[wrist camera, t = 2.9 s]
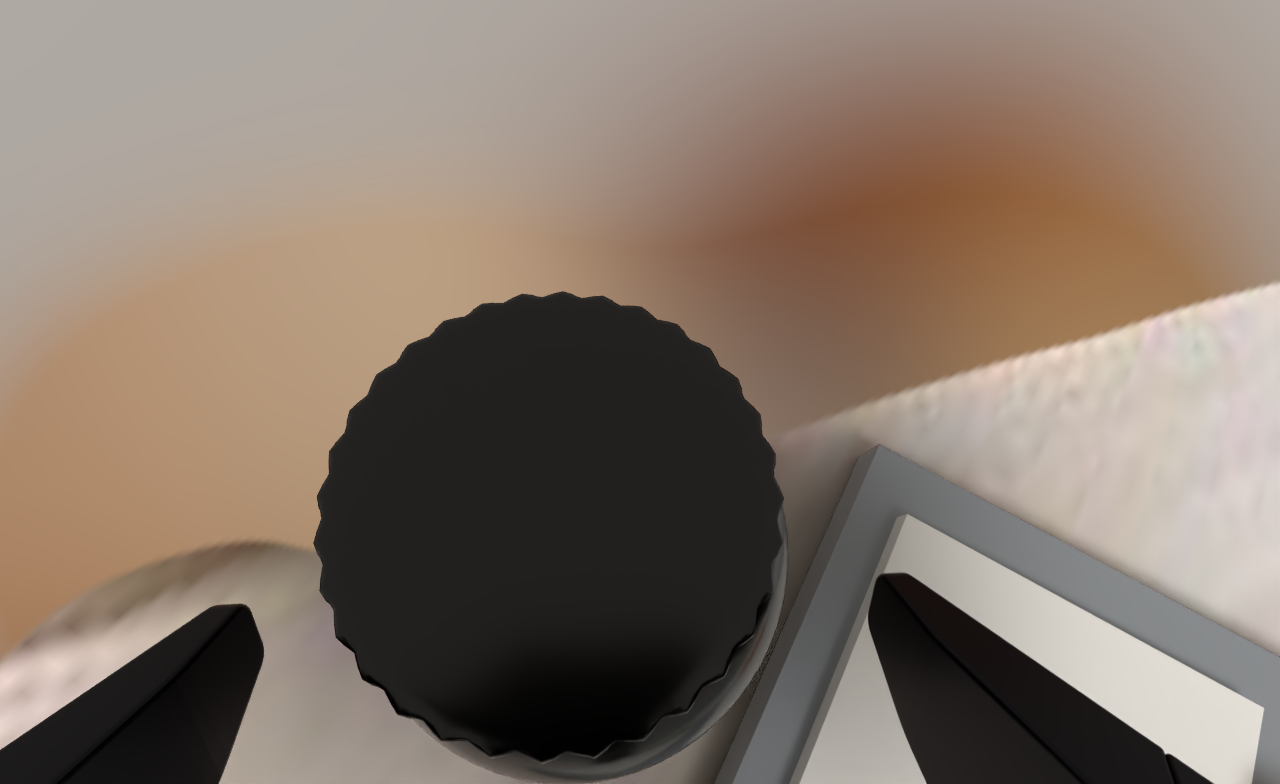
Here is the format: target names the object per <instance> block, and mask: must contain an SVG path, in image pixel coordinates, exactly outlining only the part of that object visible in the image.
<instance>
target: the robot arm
mask: <svg viewBox="0 0 1280 784" xmlns="http://www.w3.org/2000/svg"><path fill="white" fill-rule="evenodd" d="M868 626H869V630H870V633H871V636H872V639H873V642H874V645H875V648H876V651H877V654H878V657H879V660H880V663H881V666H882V669H883V672H884V675H885V678H886V681H887V684H888V687H889V691H890V694H891V697H892V700H893V703H894V706H895V709H896V712H897V715H898V717H899V720H900V723H901V726H902V728H903V731H904V734H905V736H906V738H907V741H908V743H909V745H910V748H911V750H912V752H913V755H914V757H915V759H916V761H917V764H918V766H919V768H920V770H921V772H922V775H923V777H924V779H925V781H926V784H1214V783H1213V782H1211V781H1210V780H1208V779H1207V778H1205V777H1204V776H1202V775H1201V774H1199V773H1198V772H1196V771H1195V770H1193V769H1192V768H1191V767H1189V766H1188V765H1186V764H1185V763H1183V762H1182V761H1180V760H1179V759H1177V758H1176V757H1175V756H1173V755H1172V754H1169V753H1168V754H1165V752H1164V750H1163V749H1162V748H1161V747H1160V746H1158V745H1157V744H1155V743H1154V742H1152V741H1151V740H1150V739H1148V738H1147V737H1145V736H1144V735H1142V734H1141V733H1139V732H1138V731H1137V730H1135V729H1134V728H1132V727H1131V726H1129V725H1128V724H1126V723H1125V722H1123V721H1122V720H1121V719H1119V718H1118V717H1116V716H1115V715H1113V714H1112V713H1110V712H1109V711H1108V710H1106V709H1105V708H1103V707H1102V706H1100V705H1099V704H1097V703H1096V702H1094V701H1093V700H1092V699H1090V698H1089V697H1087V696H1086V695H1084V694H1083V693H1081V692H1080V691H1078V690H1077V689H1076V688H1074V687H1073V686H1071V685H1070V684H1068V683H1067V682H1065V681H1064V680H1063V679H1061V678H1060V677H1058V676H1057V675H1055V674H1054V673H1052V672H1051V671H1049V670H1048V669H1047V668H1045V667H1044V666H1042V665H1041V664H1039V663H1038V662H1036V661H1035V660H1033V659H1032V658H1031V657H1029V656H1028V655H1026V654H1025V653H1023V652H1022V651H1020V650H1019V649H1018V648H1016V647H1015V646H1013V645H1012V644H1010V643H1009V642H1007V641H1006V640H1004V639H1003V638H1002V637H1000V636H999V635H997V634H996V633H994V632H993V631H991V630H990V629H989V628H987V627H986V626H984V625H983V624H981V623H980V622H978V621H977V620H975V619H974V618H973V617H971V616H970V615H968V614H967V613H965V612H964V611H962V610H961V609H959V608H958V607H957V606H955V605H954V604H952V603H951V602H949V601H948V600H946V599H945V598H944V597H942V596H941V595H939V594H938V593H936V592H935V591H933V590H932V589H930V588H929V587H928V586H926V585H925V584H923V583H922V582H920V581H919V580H917V579H916V578H915V577H913V576H911V575H910V574H908V573H904V572H898V573H882V574H880V575H879V576H878V577H877V578H876V581H875V585H874V589H873V594H872V598H871V602H870V607H869V611H868ZM263 658H264V646H263V642H262V640H261V637H260V634H259V631H258V629H257V626H256V623H255V620H254V618H253V615H252V612H251V610H250V608H249V607H247V606H246V605H244V604H227V605H216V606H212V607H210V608H209V609H207V610H205V611H204V612H202V613H201V614H199V615H198V616H196V617H195V618H194V619H192V620H191V621H189V622H188V623H186V624H185V625H183V626H182V627H180V628H179V629H177V630H176V631H174V632H173V633H171V634H170V635H169V636H167V637H166V638H164V639H163V640H161V641H160V642H158V643H157V644H155V645H154V646H152V647H151V648H149V649H148V650H146V651H145V652H144V653H142V654H141V655H139V656H138V657H136V658H135V659H133V660H132V661H130V662H129V663H127V664H126V665H124V666H123V667H121V668H120V669H119V670H117V671H116V672H114V673H113V674H111V675H110V676H108V677H107V678H105V679H104V680H102V681H101V682H99V683H98V684H96V685H95V686H94V687H92V688H91V689H89V690H88V691H86V692H85V693H83V694H82V695H80V696H79V697H77V698H76V699H74V700H73V701H71V702H70V703H69V704H67V705H66V706H64V707H63V708H61V709H60V710H58V711H57V712H55V713H54V714H52V715H51V716H49V717H48V718H46V719H45V720H44V721H42V722H41V723H39V724H38V725H36V726H35V727H33V728H32V729H30V730H29V731H27V732H26V733H24V734H23V735H21V736H20V737H19V738H17V739H16V740H14V741H13V742H11V743H10V744H8V745H7V746H5V747H4V748H2V749H1V750H0V784H219V781H220V779H221V777H222V774H223V772H224V769H225V767H226V764H227V761H228V759H229V756H230V753H231V751H232V748H233V745H234V742H235V739H236V736H237V734H238V731H239V728H240V725H241V722H242V719H243V717H244V714H245V711H246V708H247V705H248V703H249V700H250V697H251V694H252V691H253V688H254V686H255V683H256V680H257V677H258V674H259V672H260V669H261V666H262V663H263Z"/></svg>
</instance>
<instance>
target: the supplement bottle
mask: <svg viewBox="0 0 1280 784" xmlns="http://www.w3.org/2000/svg"><path fill="white" fill-rule="evenodd" d="M775 465H776V454H775V452H774V451H773V449H772V447H771V446H770V444H769V443H768V442H767V441H766V439H765V438H764V437H763V435H762V421H761V415H760V413H759V412H758V411H757V410H756V409H755V408H754V407H753V406H752V405H751V404H750V403H749V402H747V401H746V400H745V399H744V397H743V394H742V388H741V385H740V382H739V380H738V378H737V377H735V376H734V375H732V374H731V373H730V372H728V371H727V370H725V369H723V368H722V367H720V366H719V364H718V361H717V359H716V357H715V356H714V354H713V352H712V351H711V349H710V348H708V347H706V346H704V345H702V344H700V343H697V342H694V341H692V340H690V339H689V338H688V337H687V336H686V334H685V332H684V331H683V330H682V329H681V328H680V326H679V325H677V324H675V323H671V322H667V321H662V320H657V319H656V318H655V317H654V316H653V315H651V314H650V313H649V312H648V311H646V310H645V309H644V308H643V307H639V306H620V305H618V304H616V303H615V302H613V301H612V300H610V299H608V298H606V297H604V296H593V297H587V298H580V297H577V296H575V295H573V294H570V293H567V292H559V293H554V294H551V295H548V296H545V297H537V296H534V295H528V294H521V295H518V296H516V297H514V298H512V299H510V300H508V301H506V302H504V303H487V304H486V303H485V304H481V305H479V306H478V307H477V308H475V309H473V311H472V312H471V313H469V314H468V315H466V316H465V317H459V318H454V319H450V320H446V321H443V322H442V323H441V324H440V325H439V326H438V327H437V328H436V329H435V331H434V332H433V333H432V334H431V335H430V336H429V337H427V338H424V339H421V340H418V341H416V342H413V343H411V344H409V345H408V346H407V347H406V348H405V350H404V351H403V352H402V354H401V356H400V358H399V359H398V361H397V362H396V363H395V364H393V365H391V366H389V367H388V368H386V369H384V370H383V371H381V372H380V373H378V374H377V375H376V376H375V378H374V380H373V383H372V385H371V387H370V390H369V393H368V395H367V396H366V397H365V398H364V399H362V400H361V401H359V402H358V403H357V404H356V405H355V406H354V407H353V408H352V409H351V410H350V411H349V414H348V418H347V426H346V430H345V433H344V434H343V435H342V436H341V437H340V439H339V440H338V441H337V442H336V443H335V445H334V446H333V447H332V449H331V450H330V451H329V475H328V477H327V478H326V480H325V482H324V483H323V485H322V487H321V489H320V491H319V493H318V495H317V500H318V507H319V509H320V513H321V521H320V524H319V527H318V529H317V532H316V536H315V540H314V543H313V544H314V546H315V549H316V552H317V554H318V556H319V557H320V559H321V561H322V564H323V567H322V572H321V578H320V593H321V594H322V596H323V597H324V599H325V600H326V601H327V602H328V603H329V604H330V605H331V607H332V608H333V610H334V628H335V636H336V638H337V639H338V640H339V641H340V642H341V643H342V644H343V645H344V646H346V647H347V648H348V649H350V650H351V651H352V652H354V654H355V658H356V662H357V666H358V669H359V672H360V675H361V678H362V680H364V681H366V682H367V683H369V684H371V685H373V686H376V687H379V688H381V689H383V690H384V691H385V693H386V695H387V697H388V699H389V701H390V703H391V705H392V706H393V708H394V710H395V711H396V713H397V715H400V716H403V717H406V718H410V719H413V720H414V721H415V722H416V723H417V724H418V725H419V726H420V727H421V728H423V729H424V730H425V731H426V732H427V733H428V734H429V735H430V736H431V737H433V738H434V739H435V740H436V741H438V742H439V743H440V744H442V745H443V746H445V747H446V748H447V749H449V750H450V751H452V752H453V753H455V754H456V755H458V756H460V757H462V758H464V759H466V760H467V761H469V762H471V763H473V764H475V765H477V766H480V767H482V768H484V769H487V770H489V771H492V772H494V773H497V774H500V775H504V776H507V777H511V778H515V779H518V780H523V781H529V782H536V783H542V784H586V783H595V782H601V781H606V780H611V779H616V778H619V777H623V776H626V775H629V774H633V773H636V772H639V771H641V770H644V769H646V768H648V767H651V766H653V765H655V764H658V763H660V762H662V761H664V760H665V759H667V758H669V757H671V756H673V755H674V754H676V753H678V752H680V751H681V750H683V749H684V748H686V747H687V746H688V745H690V744H691V743H693V742H694V741H696V740H697V739H698V738H700V737H701V736H702V735H703V734H704V733H706V732H707V731H708V730H709V729H710V728H711V727H712V726H714V725H715V724H716V723H717V722H718V721H719V720H720V719H721V718H722V717H723V716H724V715H725V714H726V712H727V711H728V710H729V709H730V708H731V707H732V706H733V705H734V704H735V702H736V701H737V700H738V698H739V697H740V696H741V694H742V693H743V692H744V690H745V689H746V688H747V686H748V685H749V683H750V682H751V680H752V678H753V677H754V675H755V673H756V672H757V670H758V669H759V667H760V665H761V663H762V661H763V659H764V657H765V655H766V653H767V651H768V648H769V646H770V644H771V641H772V638H773V636H774V633H775V630H776V627H777V625H778V621H779V617H780V613H781V609H782V606H783V602H784V595H785V589H786V583H787V570H788V537H787V529H786V521H785V515H784V510H783V506H782V504H783V500H784V497H783V495H782V492H781V490H780V487H779V485H778V483H777V481H776V479H775V477H774V469H775Z"/></svg>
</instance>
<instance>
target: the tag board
mask: <svg viewBox="0 0 1280 784" xmlns="http://www.w3.org/2000/svg"><path fill="white" fill-rule="evenodd" d="M898 572H904V573H908V574H910V575H911V576H913V577H915V578H916V579H917V580H919V581H920V582H922V583H923V584H925V585H926V586H928V587H929V588H930V589H932V590H933V591H935V592H936V593H938V594H939V595H941V596H942V597H944V598H945V599H946V600H948V601H949V602H951V603H952V604H954V605H955V606H957V607H958V608H959V609H961V610H962V611H964V612H965V613H967V614H968V615H970V616H971V617H973V618H974V619H975V620H977V621H978V622H980V623H981V624H983V625H984V626H986V627H987V628H989V629H990V630H991V631H993V632H994V633H996V634H997V635H999V636H1000V637H1002V638H1003V639H1004V640H1006V641H1007V642H1009V643H1010V644H1012V645H1013V646H1015V647H1016V648H1018V649H1019V650H1020V651H1022V652H1023V653H1025V654H1026V655H1028V656H1029V657H1031V658H1032V659H1033V660H1035V661H1036V662H1038V663H1039V664H1041V665H1042V666H1044V667H1045V668H1047V669H1048V670H1049V671H1051V672H1052V673H1054V674H1055V675H1057V676H1058V677H1060V678H1061V679H1063V680H1064V681H1065V682H1067V683H1068V684H1070V685H1071V686H1073V687H1074V688H1076V689H1077V690H1078V691H1080V692H1081V693H1083V694H1084V695H1086V696H1087V697H1089V698H1090V699H1092V700H1093V701H1094V702H1096V703H1097V704H1099V705H1100V706H1102V707H1103V708H1105V709H1106V710H1108V711H1109V712H1110V713H1112V714H1113V715H1115V716H1116V717H1118V718H1119V719H1121V720H1122V721H1123V722H1125V723H1126V724H1128V725H1129V726H1131V727H1132V728H1134V729H1135V730H1137V731H1138V732H1139V733H1141V734H1142V735H1144V736H1145V737H1147V738H1148V739H1150V740H1151V741H1152V742H1154V743H1155V744H1157V745H1158V746H1160V747H1161V748H1162V749H1163V750H1164V752H1165V754H1168V753H1169V754H1172V755H1173V756H1175V757H1176V758H1177V759H1179V760H1180V761H1182V762H1183V763H1185V764H1186V765H1188V766H1189V767H1191V768H1192V769H1193V770H1195V771H1196V772H1198V773H1199V774H1201V775H1202V776H1204V777H1205V778H1207V779H1208V780H1210V781H1211V782H1213V783H1214V784H1280V657H1278V656H1276V655H1275V654H1273V653H1271V652H1269V651H1267V650H1265V649H1263V648H1261V647H1260V646H1258V645H1256V644H1254V643H1252V642H1250V641H1248V640H1246V639H1245V638H1243V637H1241V636H1239V635H1237V634H1235V633H1233V632H1231V631H1229V630H1228V629H1226V628H1224V627H1222V626H1220V625H1218V624H1216V623H1214V622H1213V621H1211V620H1209V619H1207V618H1205V617H1203V616H1201V615H1199V614H1198V613H1196V612H1194V611H1192V610H1190V609H1188V608H1186V607H1184V606H1183V605H1181V604H1179V603H1177V602H1175V601H1173V600H1171V599H1169V598H1167V597H1166V596H1164V595H1162V594H1160V593H1158V592H1156V591H1154V590H1152V589H1151V588H1149V587H1147V586H1145V585H1143V584H1141V583H1139V582H1137V581H1136V580H1134V579H1132V578H1130V577H1128V576H1126V575H1124V574H1122V573H1121V572H1119V571H1117V570H1115V569H1113V568H1111V567H1109V566H1107V565H1105V564H1104V563H1102V562H1100V561H1098V560H1096V559H1094V558H1092V557H1090V556H1089V555H1087V554H1085V553H1083V552H1081V551H1079V550H1077V549H1075V548H1074V547H1072V546H1070V545H1068V544H1066V543H1064V542H1062V541H1060V540H1059V539H1057V538H1055V537H1053V536H1051V535H1049V534H1047V533H1045V532H1044V531H1042V530H1040V529H1038V528H1036V527H1034V526H1032V525H1030V524H1028V523H1027V522H1025V521H1023V520H1021V519H1019V518H1017V517H1015V516H1013V515H1012V514H1010V513H1008V512H1006V511H1004V510H1002V509H1000V508H998V507H997V506H995V505H993V504H991V503H989V502H987V501H985V500H983V499H982V498H980V497H978V496H976V495H974V494H972V493H970V492H968V491H966V490H965V489H963V488H961V487H959V486H957V485H955V484H953V483H951V482H950V481H948V480H946V479H944V478H942V477H940V476H938V475H936V474H935V473H933V472H931V471H929V470H927V469H925V468H923V467H921V466H920V465H918V464H916V463H914V462H912V461H910V460H908V459H906V458H904V457H903V456H901V455H899V454H897V453H895V452H893V451H891V450H889V449H888V448H886V447H884V446H882V445H880V444H879V445H878V446H876V447H874V448H873V449H871V450H869V451H868V452H866V453H864V454H863V455H861V456H859V458H858V460H857V463H856V465H855V467H854V469H853V472H852V474H851V476H850V478H849V481H848V483H847V485H846V487H845V490H844V492H843V494H842V496H841V499H840V501H839V503H838V505H837V508H836V510H835V512H834V514H833V517H832V519H831V521H830V523H829V526H828V528H827V530H826V532H825V535H824V537H823V539H822V541H821V544H820V546H819V548H818V550H817V553H816V555H815V557H814V560H813V562H812V564H811V566H810V569H809V571H808V573H807V575H806V578H805V580H804V582H803V584H802V587H801V589H800V591H799V593H798V596H797V598H796V600H795V602H794V605H793V607H792V609H791V611H790V614H789V616H788V618H787V620H786V623H785V625H784V627H783V629H782V632H781V634H780V636H779V638H778V641H777V643H776V645H775V647H774V650H773V652H772V654H771V656H770V659H769V661H768V663H767V665H766V668H765V670H764V672H763V675H762V677H761V679H760V681H759V684H758V686H757V688H756V690H755V693H754V695H753V697H752V699H751V702H750V704H749V706H748V708H747V711H746V713H745V715H744V717H743V720H742V722H741V724H740V726H739V729H738V731H737V733H736V735H735V738H734V740H733V742H732V744H731V747H730V749H729V751H728V753H727V756H726V758H725V760H724V762H723V765H722V767H721V769H720V771H719V774H718V776H717V778H716V781H715V783H714V784H926V781H925V779H924V777H923V775H922V772H921V770H920V768H919V766H918V764H917V761H916V759H915V757H914V755H913V752H912V750H911V748H910V745H909V743H908V741H907V738H906V736H905V734H904V731H903V728H902V726H901V723H900V720H899V717H898V715H897V712H896V709H895V706H894V703H893V700H892V697H891V694H890V691H889V687H888V684H887V681H886V678H885V675H884V672H883V669H882V666H881V663H880V660H879V657H878V654H877V651H876V648H875V645H874V642H873V639H872V636H871V633H870V630H869V626H868V611H869V607H870V602H871V598H872V594H873V589H874V585H875V581H876V578H877V577H878V576H879V575H880V574H882V573H898Z"/></svg>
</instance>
